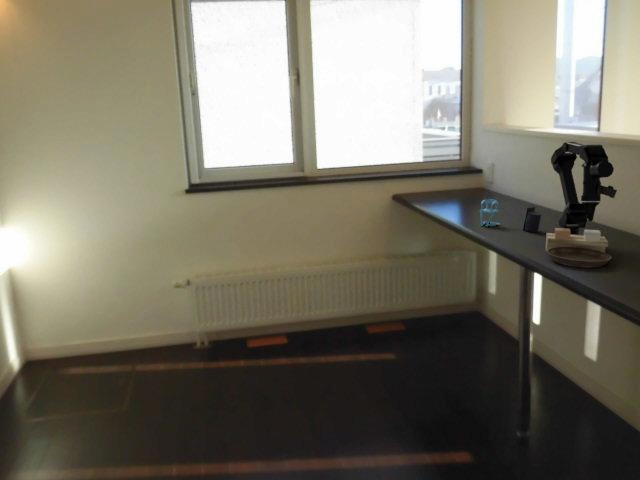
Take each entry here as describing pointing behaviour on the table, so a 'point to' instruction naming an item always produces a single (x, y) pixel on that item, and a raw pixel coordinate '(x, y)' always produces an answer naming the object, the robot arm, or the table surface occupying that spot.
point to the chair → (489, 212)
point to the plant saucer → (578, 257)
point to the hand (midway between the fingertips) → (590, 220)
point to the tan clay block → (562, 233)
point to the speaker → (532, 220)
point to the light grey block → (592, 235)
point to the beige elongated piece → (575, 242)
